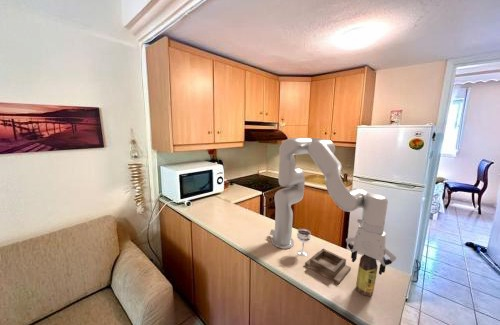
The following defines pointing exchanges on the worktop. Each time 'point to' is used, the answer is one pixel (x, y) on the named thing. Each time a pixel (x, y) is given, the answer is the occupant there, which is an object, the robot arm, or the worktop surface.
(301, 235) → the wineglass
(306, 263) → the caddy
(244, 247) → the worktop surface
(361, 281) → the sauce bottle
